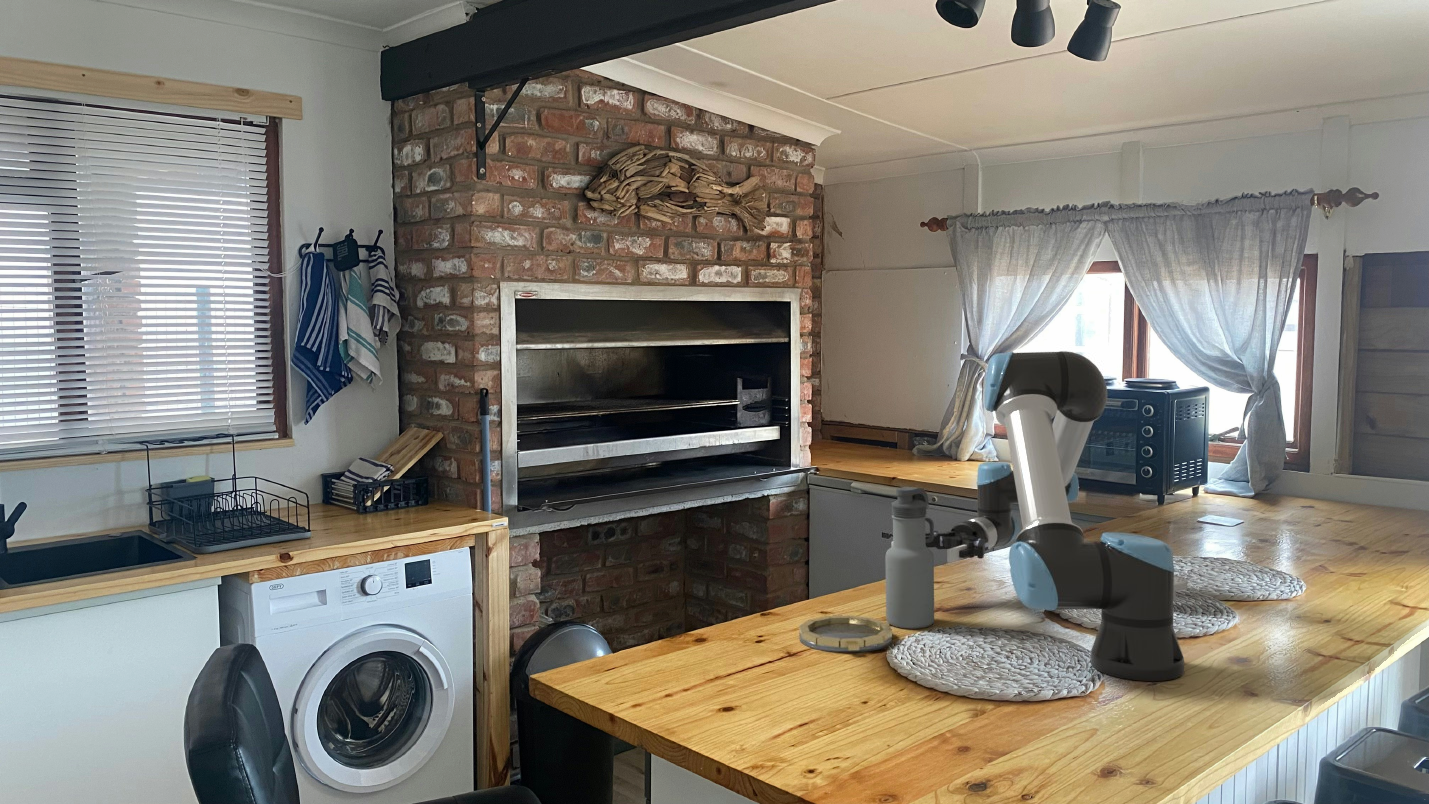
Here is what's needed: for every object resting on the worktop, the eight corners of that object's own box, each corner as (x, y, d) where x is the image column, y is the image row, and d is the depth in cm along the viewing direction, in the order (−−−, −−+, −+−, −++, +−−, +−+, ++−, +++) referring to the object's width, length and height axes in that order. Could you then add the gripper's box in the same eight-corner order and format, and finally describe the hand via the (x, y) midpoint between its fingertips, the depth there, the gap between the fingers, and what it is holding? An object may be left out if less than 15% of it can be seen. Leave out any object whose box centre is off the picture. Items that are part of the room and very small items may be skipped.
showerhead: (1132, 569, 222) (1181, 570, 220) (1132, 601, 222) (1181, 603, 220) (1141, 579, 212) (1192, 580, 210) (1141, 613, 213) (1192, 614, 211)
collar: (902, 654, 189) (902, 642, 189) (805, 657, 188) (805, 645, 188) (881, 622, 210) (880, 611, 210) (794, 624, 210) (794, 614, 210)
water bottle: (901, 613, 217) (900, 483, 215) (943, 620, 210) (942, 486, 209) (877, 624, 209) (875, 489, 207) (920, 632, 202) (918, 493, 201)
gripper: (1024, 560, 219) (973, 578, 204) (924, 546, 236) (871, 561, 221) (1024, 526, 219) (973, 541, 203) (924, 514, 236) (870, 527, 221)
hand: (920, 552), depth 212 cm, fingers open, 13 cm apart
